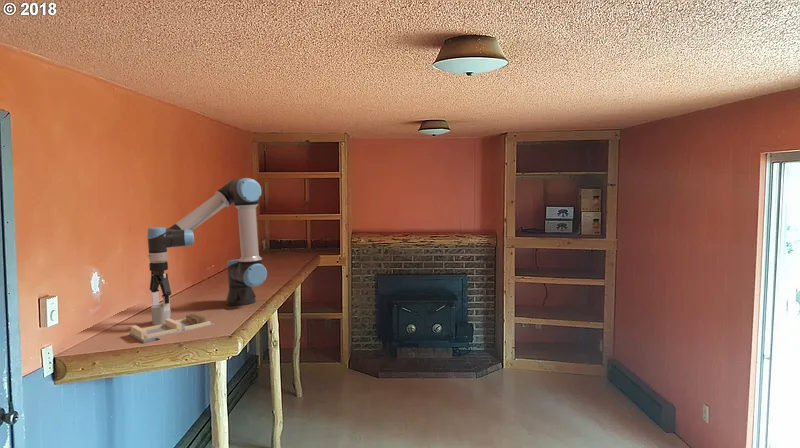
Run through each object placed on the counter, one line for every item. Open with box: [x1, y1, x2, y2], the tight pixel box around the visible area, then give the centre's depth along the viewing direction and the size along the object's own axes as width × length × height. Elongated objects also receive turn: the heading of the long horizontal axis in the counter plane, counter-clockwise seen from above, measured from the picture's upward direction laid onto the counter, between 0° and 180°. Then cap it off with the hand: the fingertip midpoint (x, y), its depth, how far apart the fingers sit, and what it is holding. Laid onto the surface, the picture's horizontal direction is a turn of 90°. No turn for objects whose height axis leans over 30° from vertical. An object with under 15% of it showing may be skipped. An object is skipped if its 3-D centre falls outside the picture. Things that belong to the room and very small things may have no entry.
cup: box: [150, 303, 172, 326], centre depth 238 cm, size 7×10×9 cm
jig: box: [129, 317, 216, 344], centre depth 226 cm, size 30×18×4 cm, turn 134°
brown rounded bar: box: [185, 313, 207, 325], centre depth 233 cm, size 4×12×3 cm, turn 44°
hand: (161, 308), depth 237 cm, fingers open, 13 cm apart
